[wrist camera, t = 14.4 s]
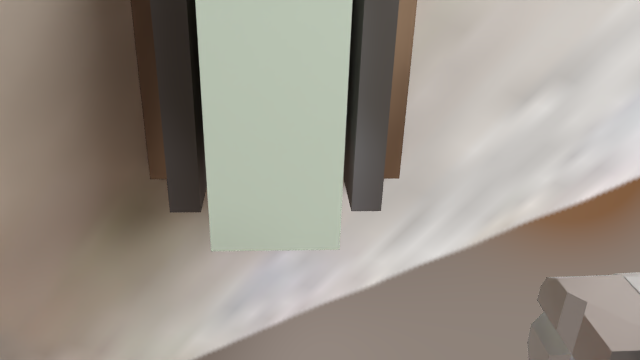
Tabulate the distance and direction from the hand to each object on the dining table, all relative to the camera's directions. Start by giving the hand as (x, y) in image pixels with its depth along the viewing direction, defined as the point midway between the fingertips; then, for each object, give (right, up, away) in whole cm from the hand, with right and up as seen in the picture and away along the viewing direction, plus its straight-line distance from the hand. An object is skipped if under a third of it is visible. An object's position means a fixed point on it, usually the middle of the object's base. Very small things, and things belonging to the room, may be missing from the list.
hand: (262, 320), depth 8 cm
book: (-1, +8, +17) cm, 19 cm away
